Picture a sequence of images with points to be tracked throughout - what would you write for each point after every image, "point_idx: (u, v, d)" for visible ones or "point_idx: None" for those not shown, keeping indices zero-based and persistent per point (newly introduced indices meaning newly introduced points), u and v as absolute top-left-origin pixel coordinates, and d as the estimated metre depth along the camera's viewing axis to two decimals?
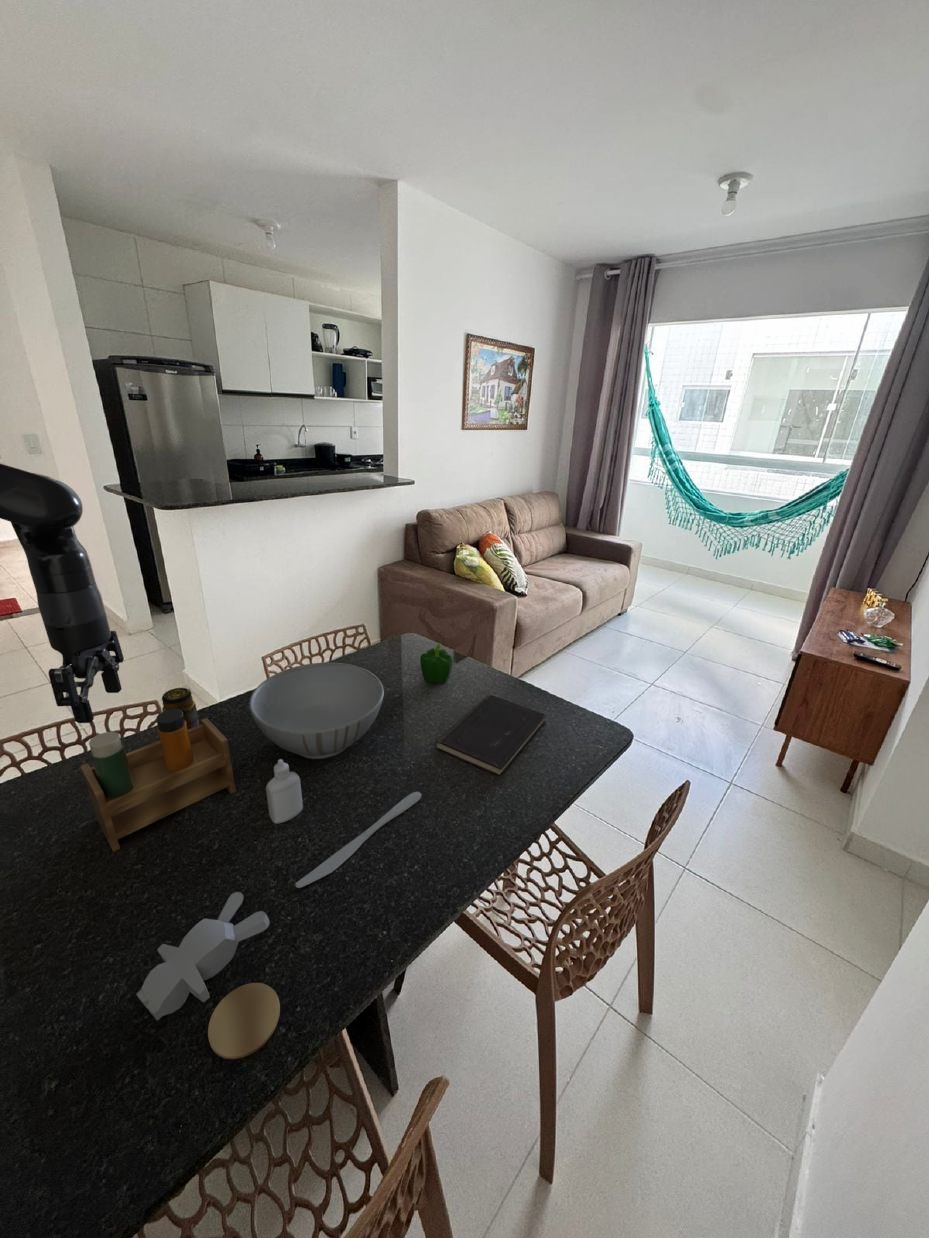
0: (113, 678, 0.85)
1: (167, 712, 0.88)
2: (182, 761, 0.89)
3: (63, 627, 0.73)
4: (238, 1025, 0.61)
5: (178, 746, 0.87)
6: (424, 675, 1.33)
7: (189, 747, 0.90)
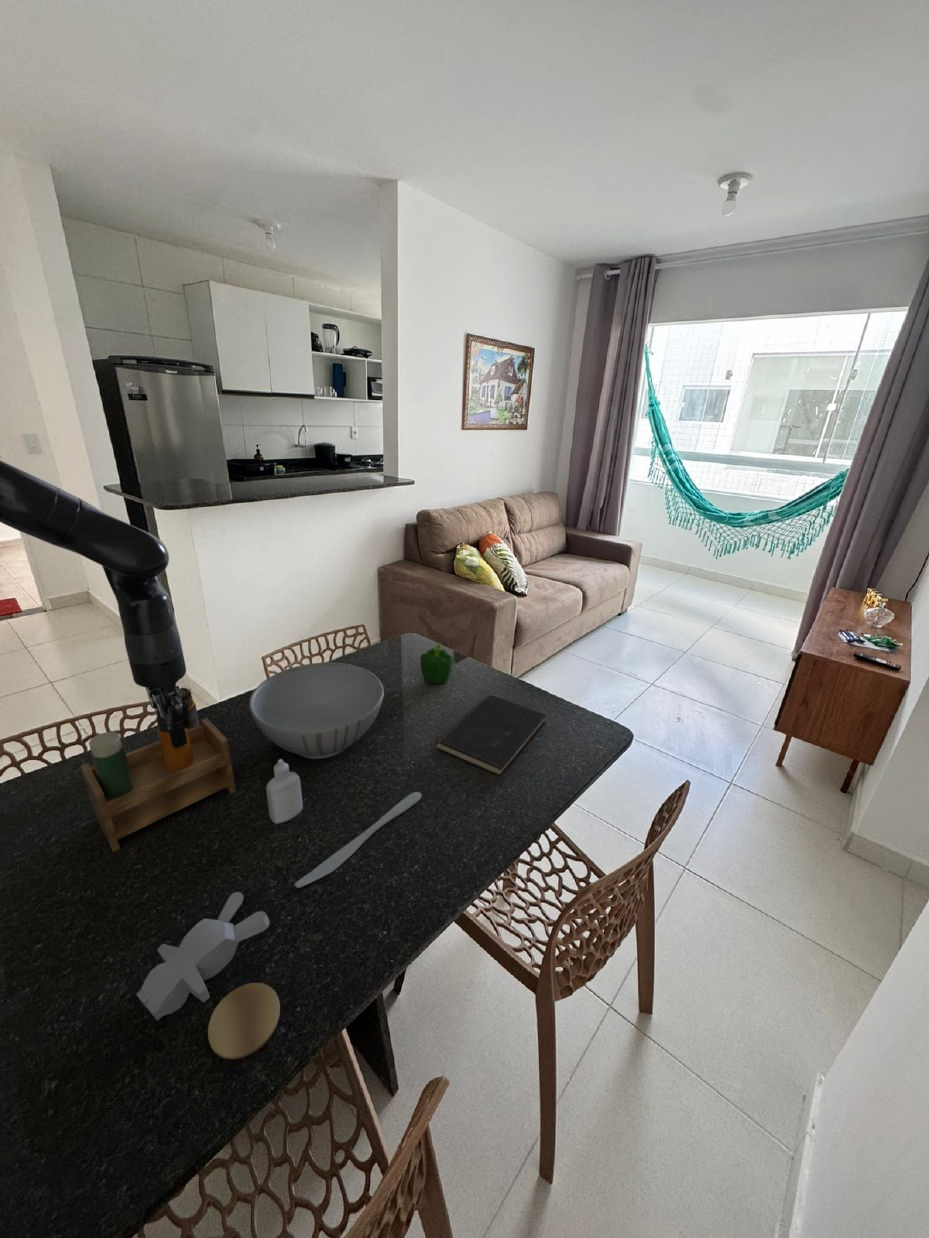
0: None
1: None
2: (182, 761, 0.89)
3: (167, 661, 0.80)
4: (238, 1025, 0.61)
5: None
6: (424, 675, 1.33)
7: (189, 747, 0.90)
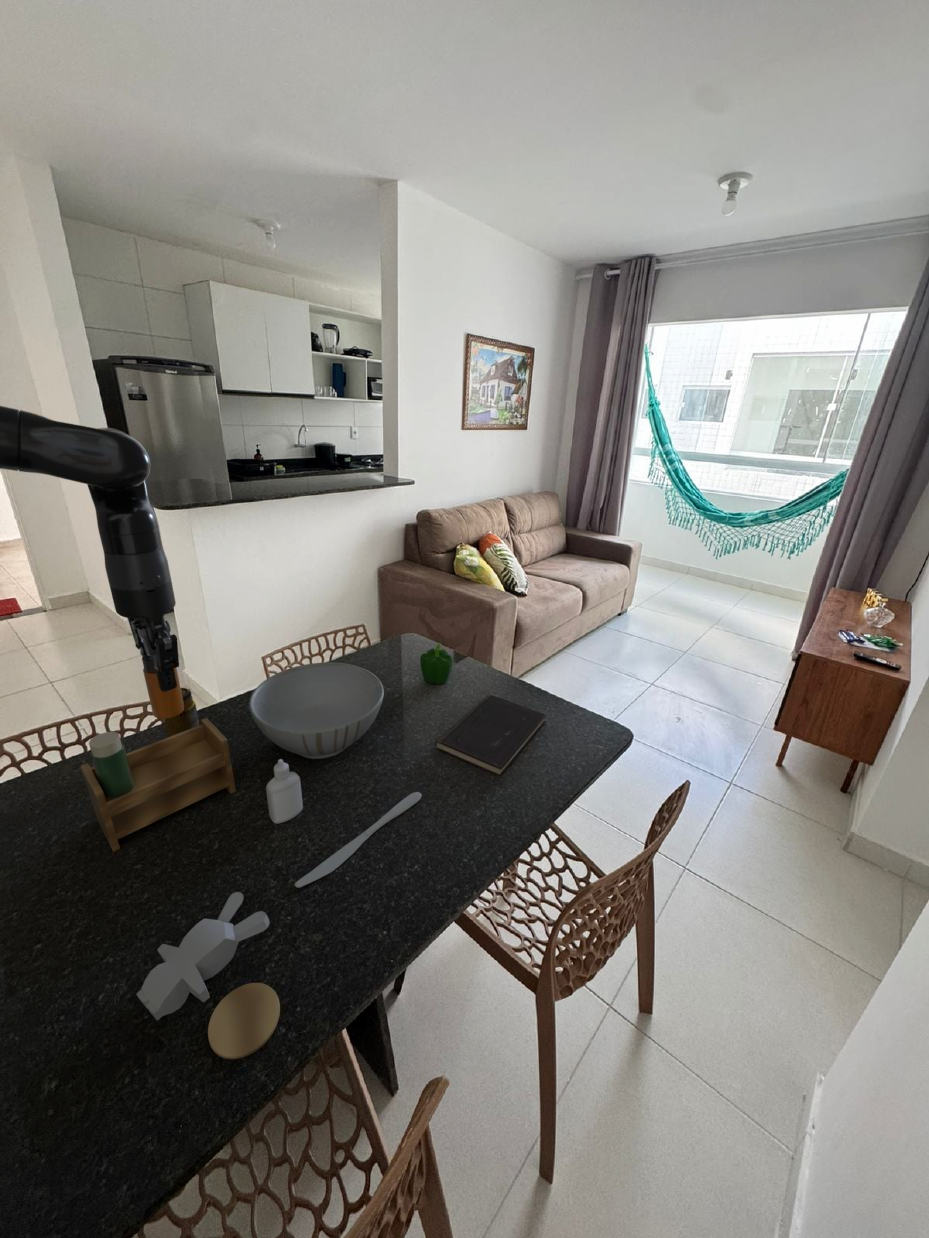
0: None
1: None
2: (172, 708, 0.79)
3: (153, 588, 0.71)
4: (238, 1025, 0.61)
5: None
6: (424, 675, 1.33)
7: (179, 692, 0.80)
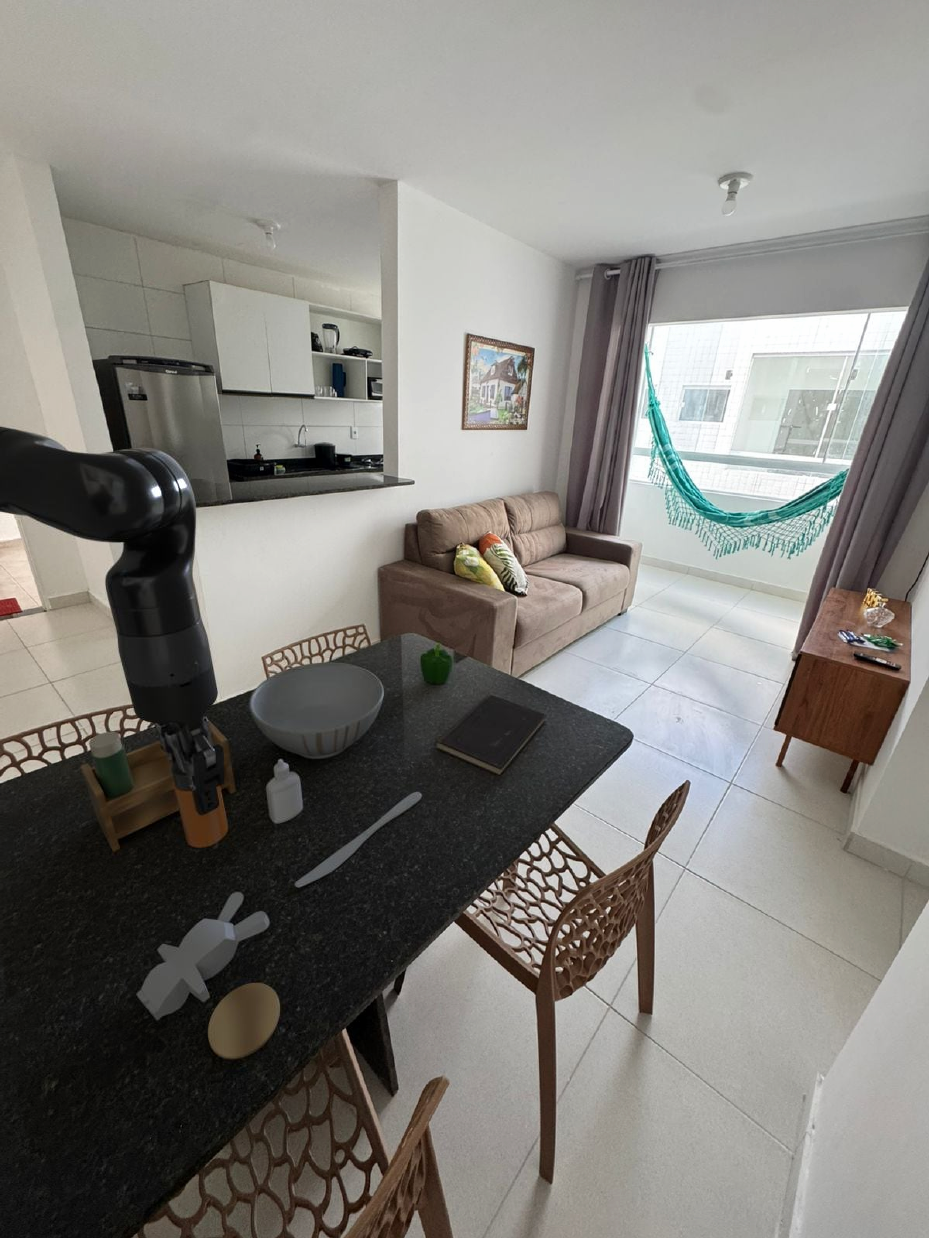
0: None
1: (189, 757, 0.56)
2: (212, 833, 0.57)
3: (189, 680, 0.48)
4: (238, 1025, 0.61)
5: None
6: (424, 675, 1.33)
7: (222, 809, 0.58)
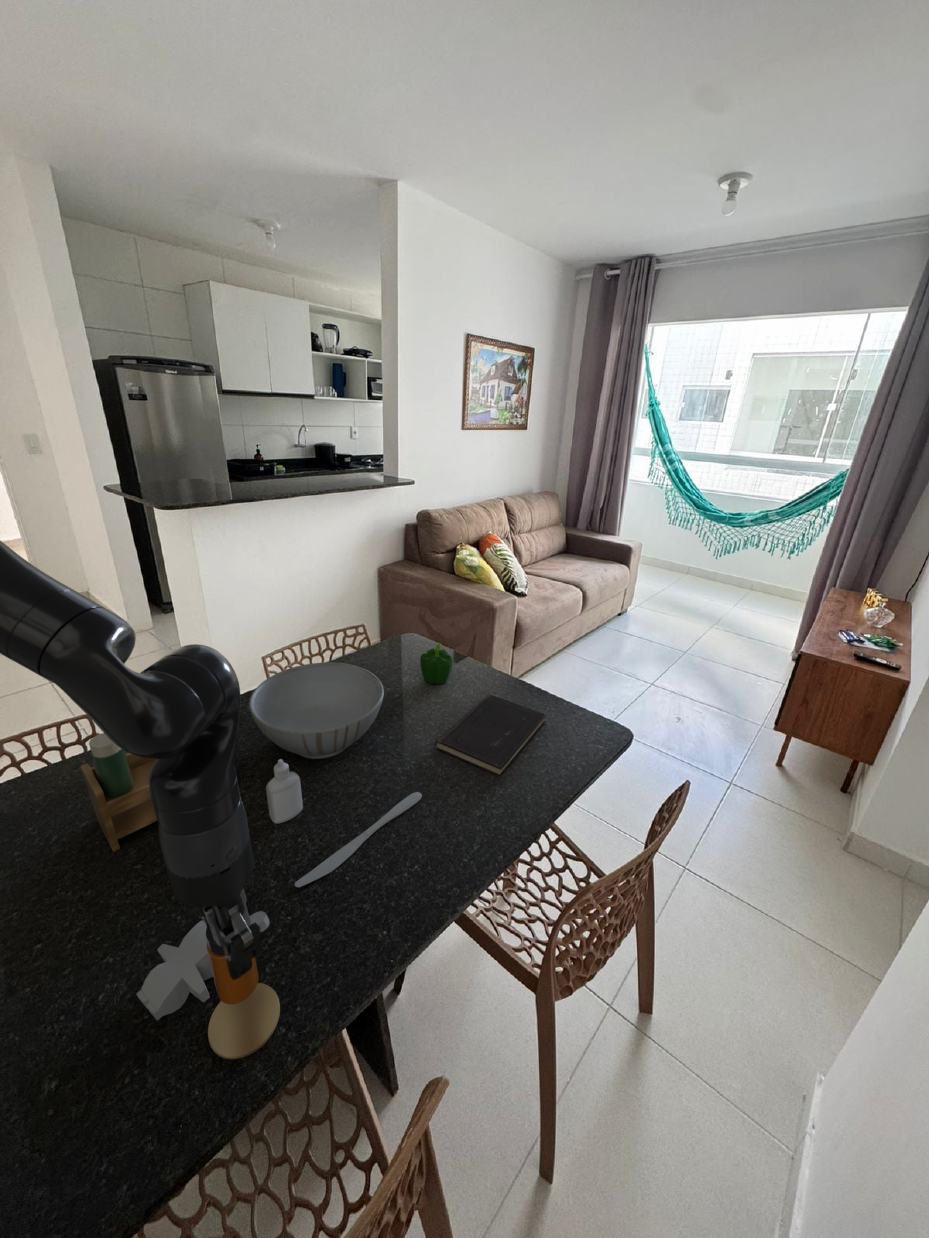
0: None
1: None
2: (244, 990, 0.57)
3: (228, 866, 0.48)
4: (238, 1025, 0.61)
5: None
6: (424, 675, 1.33)
7: (254, 963, 0.58)
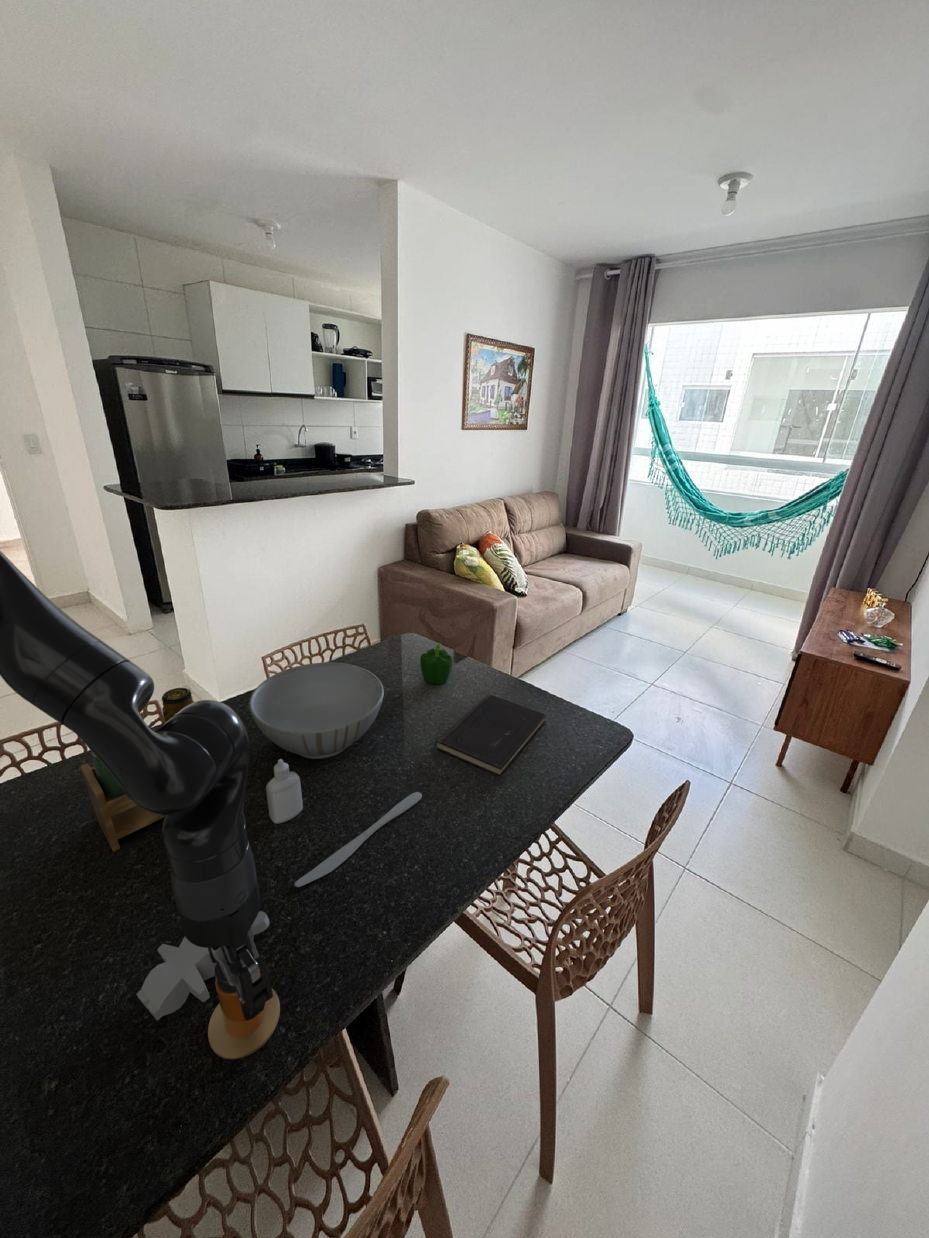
0: None
1: None
2: (251, 1023, 0.60)
3: (237, 908, 0.51)
4: None
5: None
6: (424, 675, 1.33)
7: None
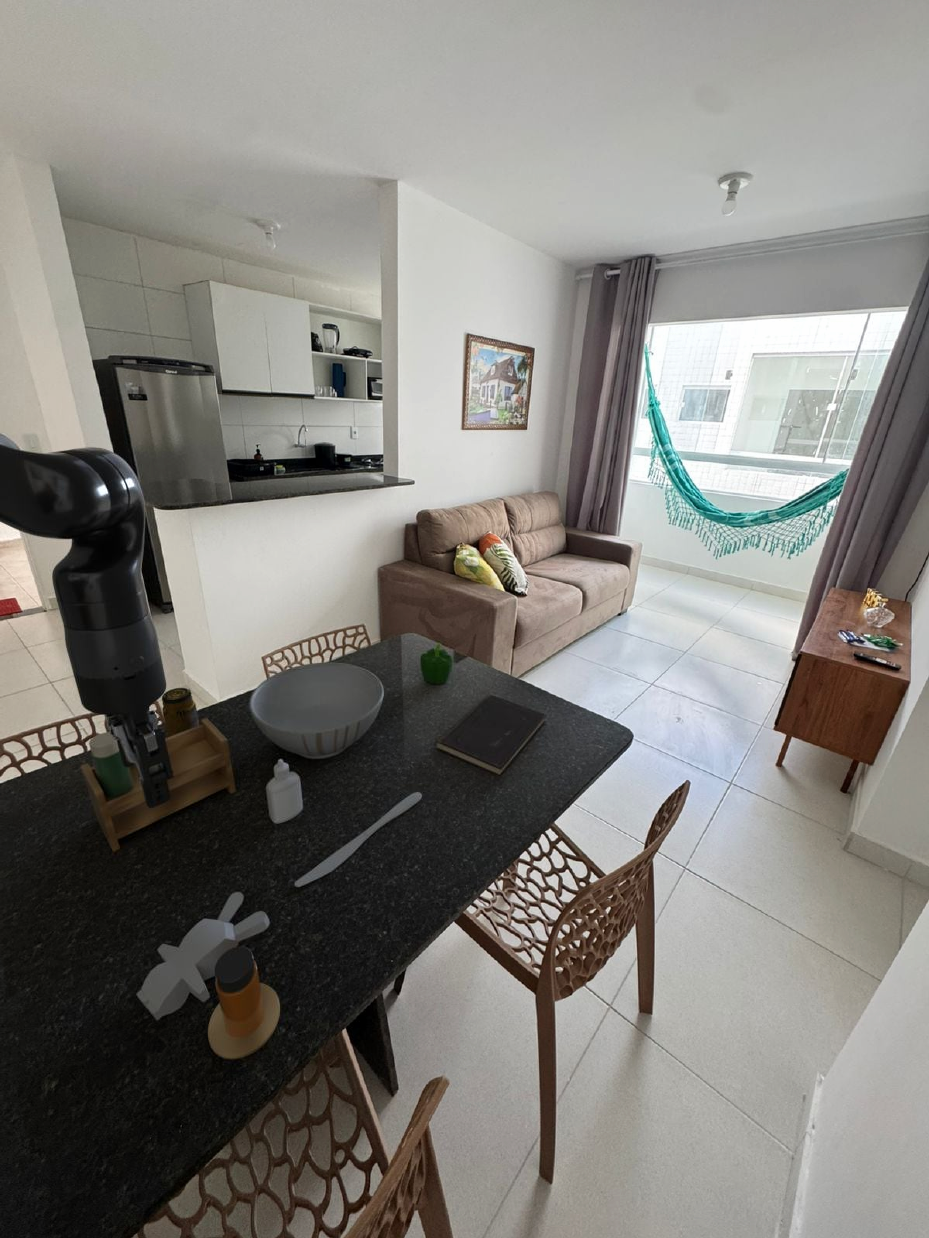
0: None
1: (230, 955, 0.58)
2: (251, 1023, 0.60)
3: (134, 674, 0.50)
4: None
5: (246, 1007, 0.58)
6: (424, 675, 1.33)
7: (260, 998, 0.60)
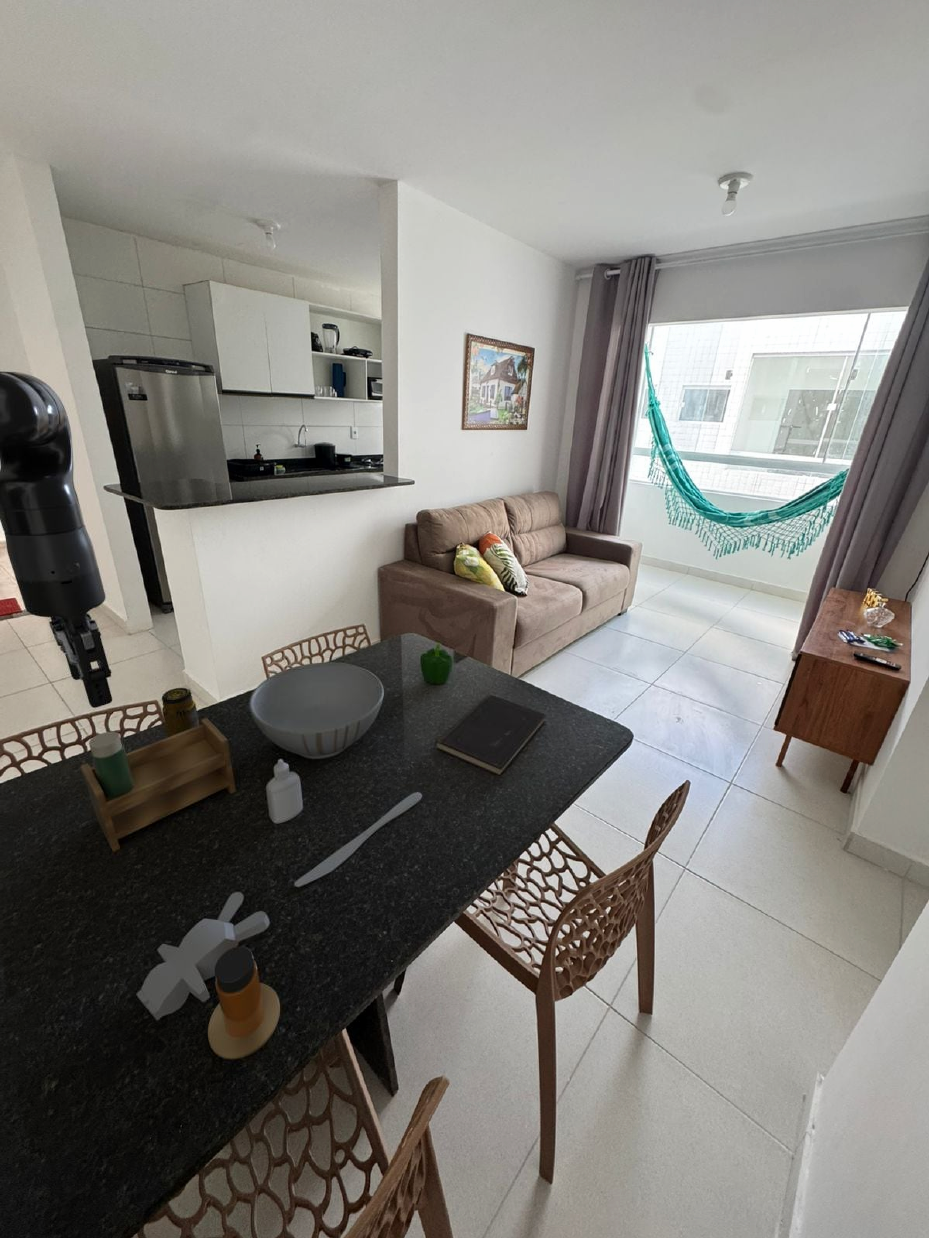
0: None
1: (230, 955, 0.58)
2: (251, 1023, 0.60)
3: (70, 579, 0.56)
4: None
5: (246, 1007, 0.58)
6: (424, 675, 1.33)
7: (260, 998, 0.60)
